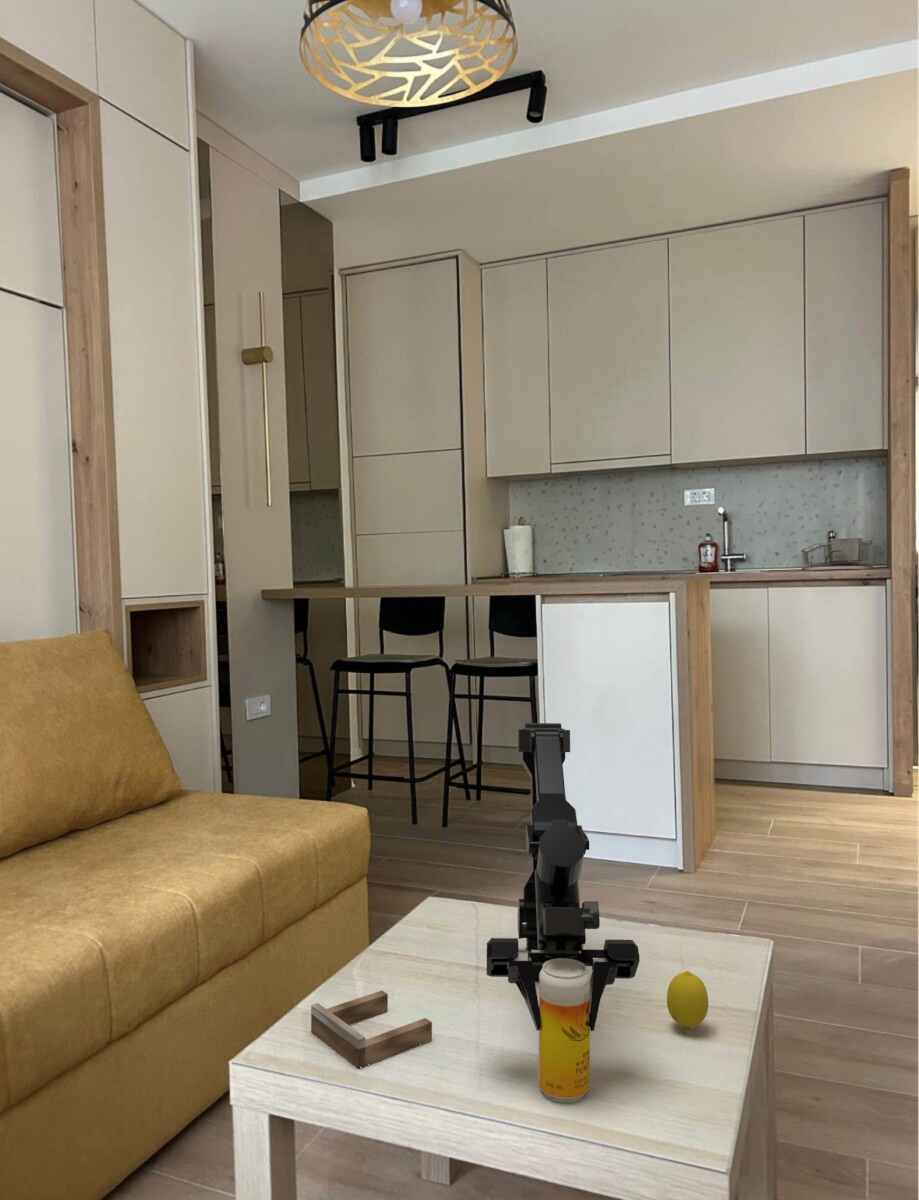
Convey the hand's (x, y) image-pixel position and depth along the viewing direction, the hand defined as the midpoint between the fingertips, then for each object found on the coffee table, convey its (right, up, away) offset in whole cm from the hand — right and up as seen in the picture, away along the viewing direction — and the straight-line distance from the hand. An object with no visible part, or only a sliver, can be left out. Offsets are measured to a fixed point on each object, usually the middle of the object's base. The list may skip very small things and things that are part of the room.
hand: (565, 1029), depth 107 cm
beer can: (0, -8, +1) cm, 8 cm away
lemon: (+19, -8, +17) cm, 26 cm away
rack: (-25, -8, +14) cm, 30 cm away
